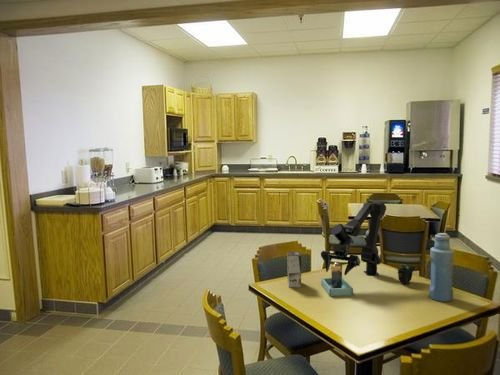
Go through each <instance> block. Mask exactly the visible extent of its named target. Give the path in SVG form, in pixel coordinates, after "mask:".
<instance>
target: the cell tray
mask: <svg viewBox="0 0 500 375" xmlns="http://www.w3.org/2000/svg"><path fill="white" fill-rule="evenodd" d="M320 283H321V286H322V288H323V289H324V291H325V292H326V293H327V295H328V296H329V297H353V296H354V288H353V287H352V285H351V284H349V282H347V280H346V279H345V278H344V277H343V276H342V288H332V289H331V277H321V282H320Z"/></svg>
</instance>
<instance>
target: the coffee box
mask: <svg viewBox="0 0 500 375" xmlns="http://www.w3.org/2000/svg"><path fill="white" fill-rule="evenodd" d="M286 253H287V255H286V256H287V257H286V258H287V259H286V261H287V264H286V266H287V270H286V272H287V286H288V287H289V288H302V254H301V252H300V251H297V250H296V251H287V252H286Z"/></svg>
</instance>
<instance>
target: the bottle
mask: <svg viewBox="0 0 500 375" xmlns="http://www.w3.org/2000/svg"><path fill="white" fill-rule="evenodd" d="M434 239H435V240H434V244H433V246H432V247H431V248H430V249H429V252H430V253H429V254H430V255H429V257H430V284H429V288H428V289H429V291H428V296H429V298H430V299H432V301H435V302H442V303H447V302H448V303H449V302H452V301H453V300H454V290H453V272H454V271H453V270H454V269H453V266H454V262H455V260H454V259H455V250H454V249H453V248H451V242H450V239H451V236H450V235H449V234H448V233H445V232H438V233H436V234H435V235H434Z"/></svg>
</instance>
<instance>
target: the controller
mask: <svg viewBox="0 0 500 375" xmlns="http://www.w3.org/2000/svg"><path fill="white" fill-rule="evenodd" d="M415 270H416V267H415V266H414V265H409V264H408V265H406V264H401V265H400V267H399V268H397V274H398V275H397V276H398V280H399V282H400V283H402V284H405V285H406V284H409V283H410V282H411V280H412V278H413V273H414V271H415Z"/></svg>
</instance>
